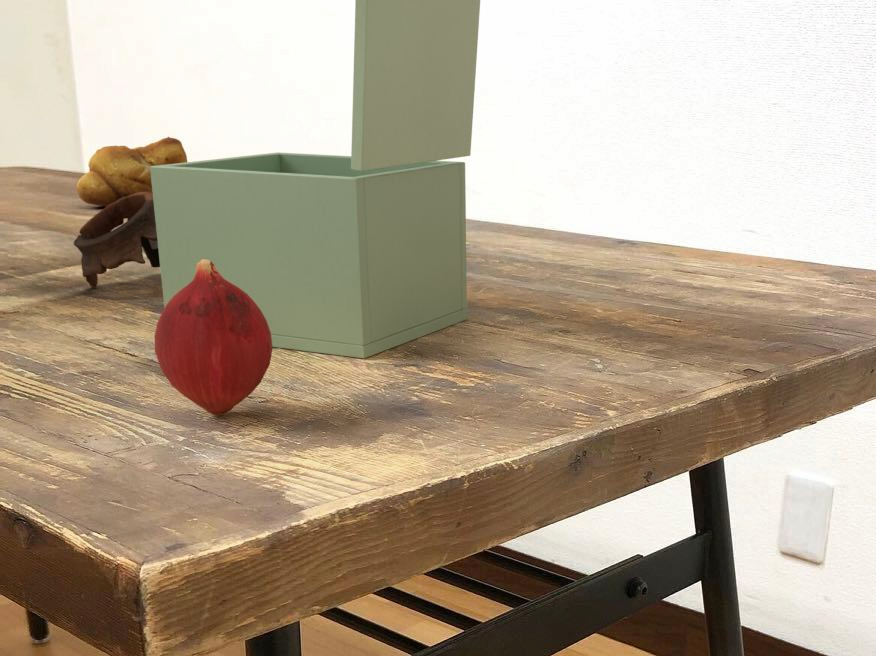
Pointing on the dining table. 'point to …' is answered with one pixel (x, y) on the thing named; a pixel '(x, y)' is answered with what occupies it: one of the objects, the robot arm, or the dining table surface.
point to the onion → (213, 342)
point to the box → (321, 244)
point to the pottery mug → (119, 236)
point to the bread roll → (126, 170)
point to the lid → (413, 81)
